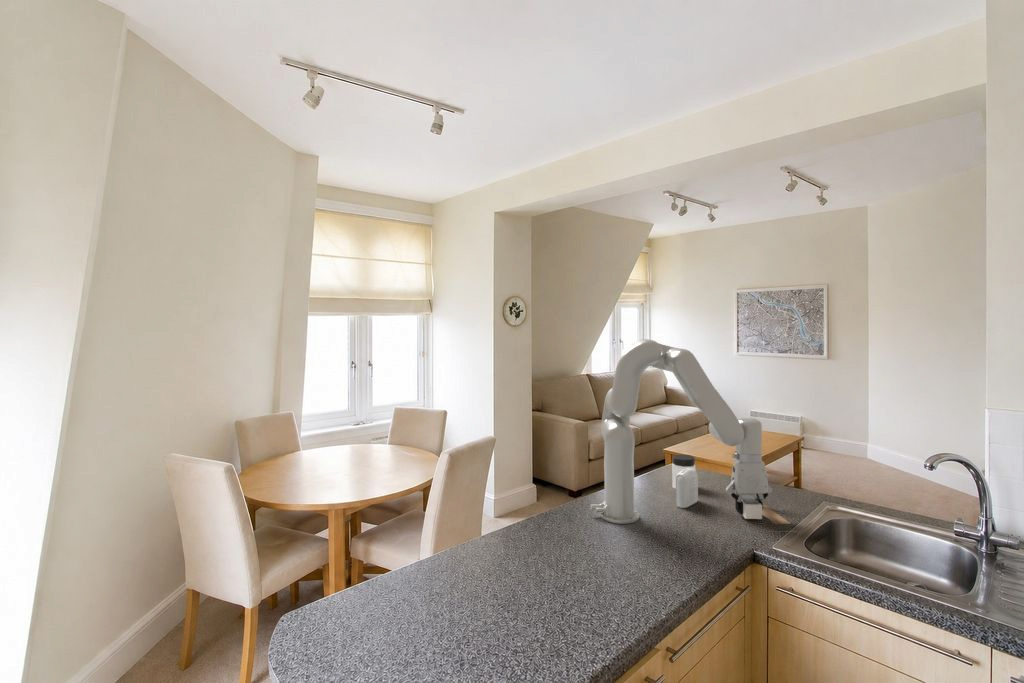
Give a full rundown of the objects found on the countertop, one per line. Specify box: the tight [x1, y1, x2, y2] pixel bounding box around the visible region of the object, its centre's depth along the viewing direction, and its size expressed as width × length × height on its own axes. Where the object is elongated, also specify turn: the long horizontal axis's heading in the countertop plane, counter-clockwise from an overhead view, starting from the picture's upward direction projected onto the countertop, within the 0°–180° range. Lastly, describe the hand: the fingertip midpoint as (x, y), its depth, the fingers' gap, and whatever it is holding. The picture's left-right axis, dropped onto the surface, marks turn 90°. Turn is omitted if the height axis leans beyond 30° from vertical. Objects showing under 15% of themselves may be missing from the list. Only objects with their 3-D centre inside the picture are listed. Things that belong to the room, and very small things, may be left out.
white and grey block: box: [741, 494, 763, 520], centre depth 157 cm, size 5×8×5 cm, turn 174°
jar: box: [671, 453, 696, 490], centre depth 187 cm, size 9×8×12 cm
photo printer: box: [675, 468, 699, 509], centre depth 170 cm, size 10×4×12 cm, turn 134°
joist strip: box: [762, 504, 792, 525], centre depth 159 cm, size 5×16×1 cm, turn 0°
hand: (749, 512), depth 157 cm, fingers closed on white and grey block, 5 cm apart
